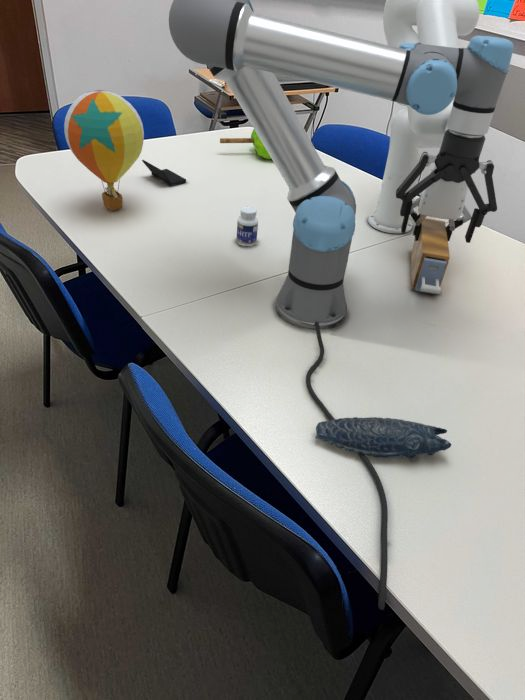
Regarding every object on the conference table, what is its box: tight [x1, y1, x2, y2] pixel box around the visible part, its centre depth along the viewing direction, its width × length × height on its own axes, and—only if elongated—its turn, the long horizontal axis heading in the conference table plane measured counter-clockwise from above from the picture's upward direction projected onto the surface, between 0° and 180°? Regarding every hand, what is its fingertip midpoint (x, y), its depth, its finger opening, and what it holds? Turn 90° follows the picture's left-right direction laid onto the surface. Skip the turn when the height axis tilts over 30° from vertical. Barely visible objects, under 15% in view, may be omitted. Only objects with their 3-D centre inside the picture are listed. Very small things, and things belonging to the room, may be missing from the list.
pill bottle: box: [235, 206, 259, 247], centre depth 132 cm, size 5×5×9 cm
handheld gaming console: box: [141, 159, 187, 187], centre depth 162 cm, size 12×7×10 cm
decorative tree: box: [219, 129, 272, 160], centre depth 186 cm, size 18×10×30 cm
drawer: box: [414, 256, 446, 295], centre depth 123 cm, size 24×5×8 cm, turn 168°
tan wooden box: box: [410, 217, 451, 291], centre depth 127 cm, size 20×6×10 cm, turn 168°
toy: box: [63, 89, 145, 212], centre depth 136 cm, size 20×20×30 cm
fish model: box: [315, 416, 452, 459], centre depth 82 cm, size 7×21×5 cm, turn 84°
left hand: (434, 235), depth 111 cm, fingers open, 13 cm apart
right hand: (430, 240), depth 129 cm, fingers closed on tan wooden box, 6 cm apart
